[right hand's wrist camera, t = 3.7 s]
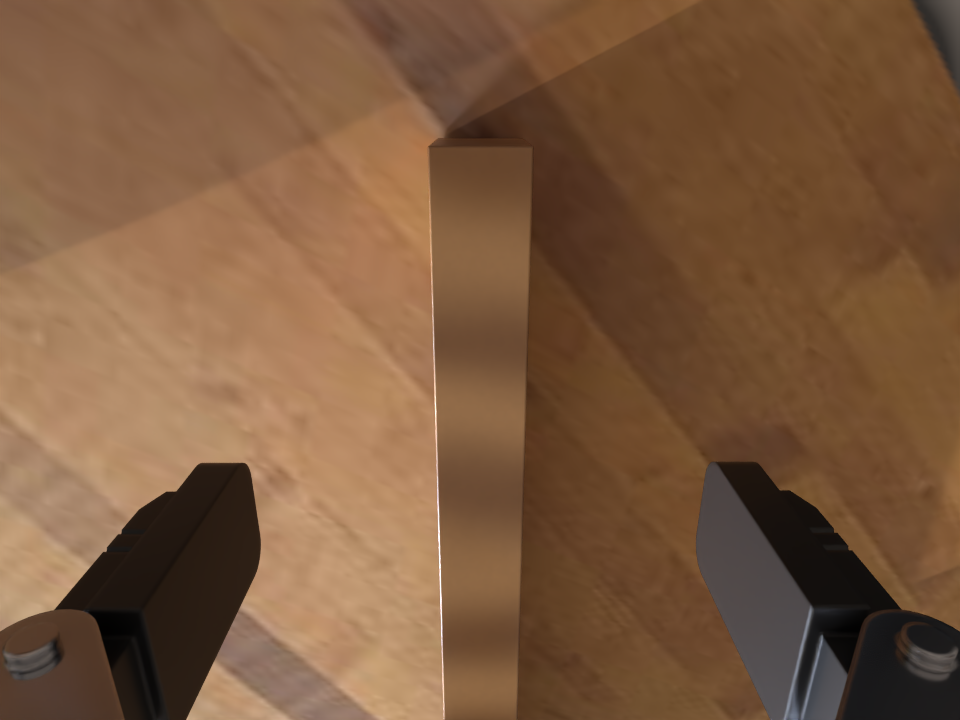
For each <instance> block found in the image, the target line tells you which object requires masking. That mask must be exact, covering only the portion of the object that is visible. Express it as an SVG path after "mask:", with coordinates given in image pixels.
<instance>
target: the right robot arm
mask: <svg viewBox="0 0 960 720" xmlns="http://www.w3.org/2000/svg"><path fill="white" fill-rule="evenodd" d="M260 551H261V539H260V531H259V525H258V518H257V511H256V505H255V498H254V491H253V484H252V478H251V473H250V470H249V467H248V466H247V464H245V463H200V464H198V465H197V466H196V467H195V469H194V470H193V471H192V472H191V474H190V475H189V476H188V478H187V479H186V480H185V481H184V483H183V484H182V485H181V486H180V488H179V489H178V490H177V491H176V492H165V493H164V494H162V495H161V496H159V497H158V498H156V499H154V500H153V501H151V502H150V503H148V504H147V505H145V506H144V507H142V508H141V509H139V510H138V511H137V513H136V514H135V515H134V516H133V517H132V519H131V520H130V521H129V522H128V523H127V525H126V526H125V527H124V528H123V529H122V533H121V534H118V535H117V536H116V538H115V539H114V540H113V541H112V542H111V543H110V545H109V546H108V547H107V552H103V553H102V554H101V555H100V556H99V558H98V559H97V560H96V561H95V562H94V564H93V565H92V566H91V567H90V568H89V569H88V571H87V572H86V573H85V574H84V575H83V577H82V578H81V579H80V580H79V581H78V582H77V584H76V585H75V586H74V587H73V588H72V590H71V591H70V592H69V593H68V594H67V596H66V597H65V598H64V599H63V600H62V601H61V603H60V604H59V605H58V606H57V607H56V609H55V610H54V611H48V612H44V613H40V614H37V615H34V616H31V617H28V618H26V619H23V620H21V621H18V622H16V623H15V624H13V625H11V626H9V627H7V628H5V629H4V630H2V631H0V720H186V719H187V717H188V714H189V712H190V710H191V708H192V706H193V704H194V702H195V700H196V698H197V696H198V694H199V691H200V689H201V687H202V685H203V683H204V681H205V679H206V677H207V675H208V673H209V671H210V669H211V666H212V664H213V662H214V660H215V658H216V656H217V654H218V652H219V650H220V648H221V646H222V644H223V641H224V639H225V637H226V635H227V633H228V631H229V629H230V627H231V625H232V623H233V621H234V618H235V616H236V614H237V612H238V610H239V608H240V606H241V604H242V602H243V600H244V598H245V596H246V593H247V591H248V589H249V587H250V585H251V583H252V581H253V579H254V577H255V574H256V572H257V569H258V565H259V560H260ZM696 553H697V560H698V565H699V568H700V571H701V574H702V576H703V578H704V580H705V583H706V585H707V587H708V589H709V591H710V593H711V595H712V597H713V599H714V602H715V604H716V606H717V608H718V610H719V612H720V614H721V616H722V618H723V621H724V623H725V625H726V627H727V629H728V631H729V633H730V635H731V637H732V640H733V642H734V644H735V646H736V648H737V650H738V652H739V654H740V656H741V659H742V661H743V663H744V665H745V667H746V669H747V671H748V673H749V675H750V678H751V680H752V682H753V684H754V686H755V688H756V690H757V692H758V694H759V697H760V699H761V701H762V703H763V705H764V707H765V709H766V711H767V713H768V716H769V718H770V720H960V631H958V630H956V629H955V628H953V627H951V626H949V625H947V624H945V623H944V622H942V621H939V620H937V619H934V618H932V617H929V616H926V615H923V614H920V613H916V612H912V611H906V610H902V609H901V608H900V607H899V606H898V605H897V604H896V602H895V601H894V600H893V599H892V598H891V596H890V595H889V594H888V593H887V592H886V590H885V589H884V588H883V587H882V586H881V584H880V583H879V582H878V581H877V580H876V578H875V577H874V576H873V575H872V574H871V572H870V571H869V570H868V569H867V568H866V567H865V565H864V564H863V563H862V562H861V561H860V559H859V558H858V557H857V556H856V555H855V553H854V552H853V551H852V550H849V549H848V545H847V544H846V543H845V541H844V540H843V539H842V538H841V537H840V535H839V534H838V533H834V528H833V527H832V526H831V525H830V524H829V522H828V521H827V520H826V519H825V518H824V516H823V515H822V514H821V513H820V512H819V510H818V509H817V508H816V507H814V506H813V505H811V504H810V503H808V502H806V501H805V500H803V499H802V498H800V497H799V496H797V495H796V494H794V493H793V492H791V491H790V490H779V489H778V488H777V487H776V485H775V484H774V483H773V481H772V480H771V479H770V478H769V476H768V475H767V474H766V472H765V471H764V470H763V469H762V467H761V466H760V465H759V464H758V463H756V462H711V463H710V464H709V465H708V467H707V470H706V474H705V480H704V487H703V494H702V501H701V508H700V514H699V521H698V528H697V535H696Z"/></svg>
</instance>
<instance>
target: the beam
mask: <svg viewBox="0 0 960 720" xmlns="http://www.w3.org/2000/svg"><path fill="white" fill-rule="evenodd" d="M533 155H534V148H533V146H532V145H531V144H529V143H528V142H527V141H525V140H524V139H523V138H438V139H437V140H436V141H434V142H433V143H432V144H431V145H429V146H428V181H429V216H430V251H431V287H432V322H433V357H434V392H435V427H436V463H437V498H438V533H439V568H440V603H441V639H442V674H443V709H444V720H517V707H518V673H519V638H520V604H521V569H522V535H523V500H524V466H525V431H526V397H527V362H528V328H529V293H530V259H531V224H532V190H533Z"/></svg>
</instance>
